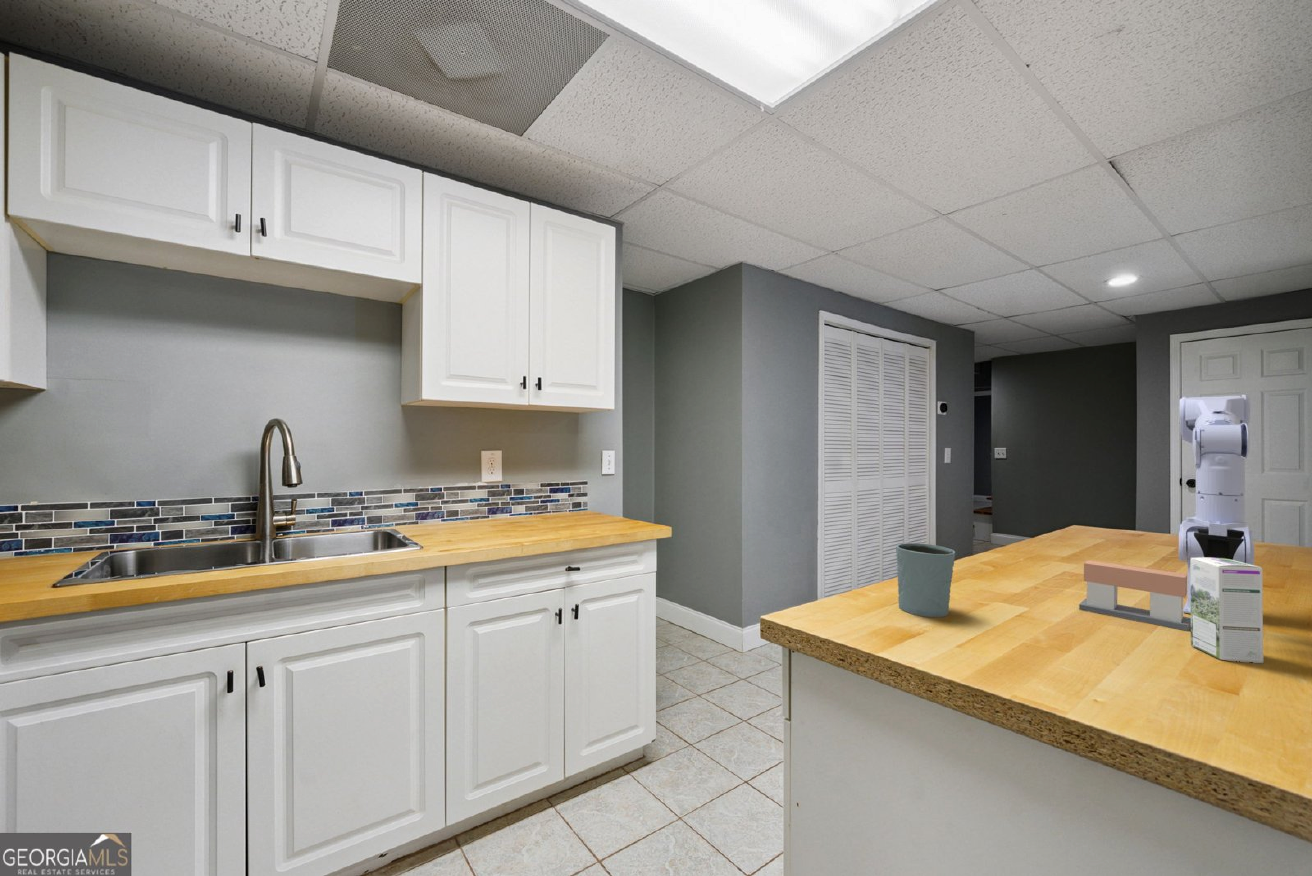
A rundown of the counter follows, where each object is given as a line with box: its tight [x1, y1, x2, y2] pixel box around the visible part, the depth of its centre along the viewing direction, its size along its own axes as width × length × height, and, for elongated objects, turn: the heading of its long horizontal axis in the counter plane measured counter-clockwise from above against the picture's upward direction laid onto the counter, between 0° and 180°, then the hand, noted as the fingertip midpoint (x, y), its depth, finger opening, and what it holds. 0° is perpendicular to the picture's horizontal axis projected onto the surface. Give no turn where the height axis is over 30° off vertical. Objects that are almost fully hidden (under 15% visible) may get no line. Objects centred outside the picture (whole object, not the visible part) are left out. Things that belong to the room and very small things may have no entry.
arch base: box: [1078, 581, 1191, 632], centre depth 98 cm, size 6×15×6 cm, turn 41°
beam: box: [1083, 559, 1188, 599], centre depth 98 cm, size 4×14×4 cm, turn 41°
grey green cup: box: [895, 542, 956, 618], centre depth 101 cm, size 10×10×12 cm
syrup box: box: [1190, 557, 1264, 664], centre depth 81 cm, size 6×6×14 cm
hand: (1219, 573), depth 89 cm, fingers open, 7 cm apart
